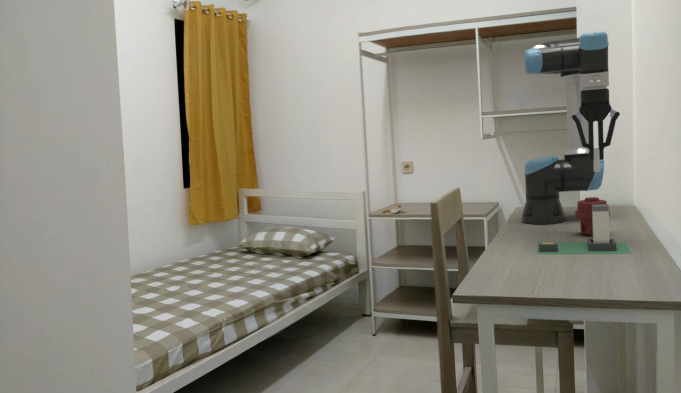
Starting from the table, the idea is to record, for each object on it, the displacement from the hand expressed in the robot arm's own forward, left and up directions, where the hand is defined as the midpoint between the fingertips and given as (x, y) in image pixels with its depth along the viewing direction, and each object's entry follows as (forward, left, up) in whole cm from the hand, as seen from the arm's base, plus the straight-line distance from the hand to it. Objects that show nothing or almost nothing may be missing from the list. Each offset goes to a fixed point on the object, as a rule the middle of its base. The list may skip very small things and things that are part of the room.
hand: (596, 171), depth 178 cm
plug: (+9, 0, -21) cm, 23 cm away
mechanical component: (-12, -1, -22) cm, 25 cm away
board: (+8, -5, -22) cm, 24 cm away
